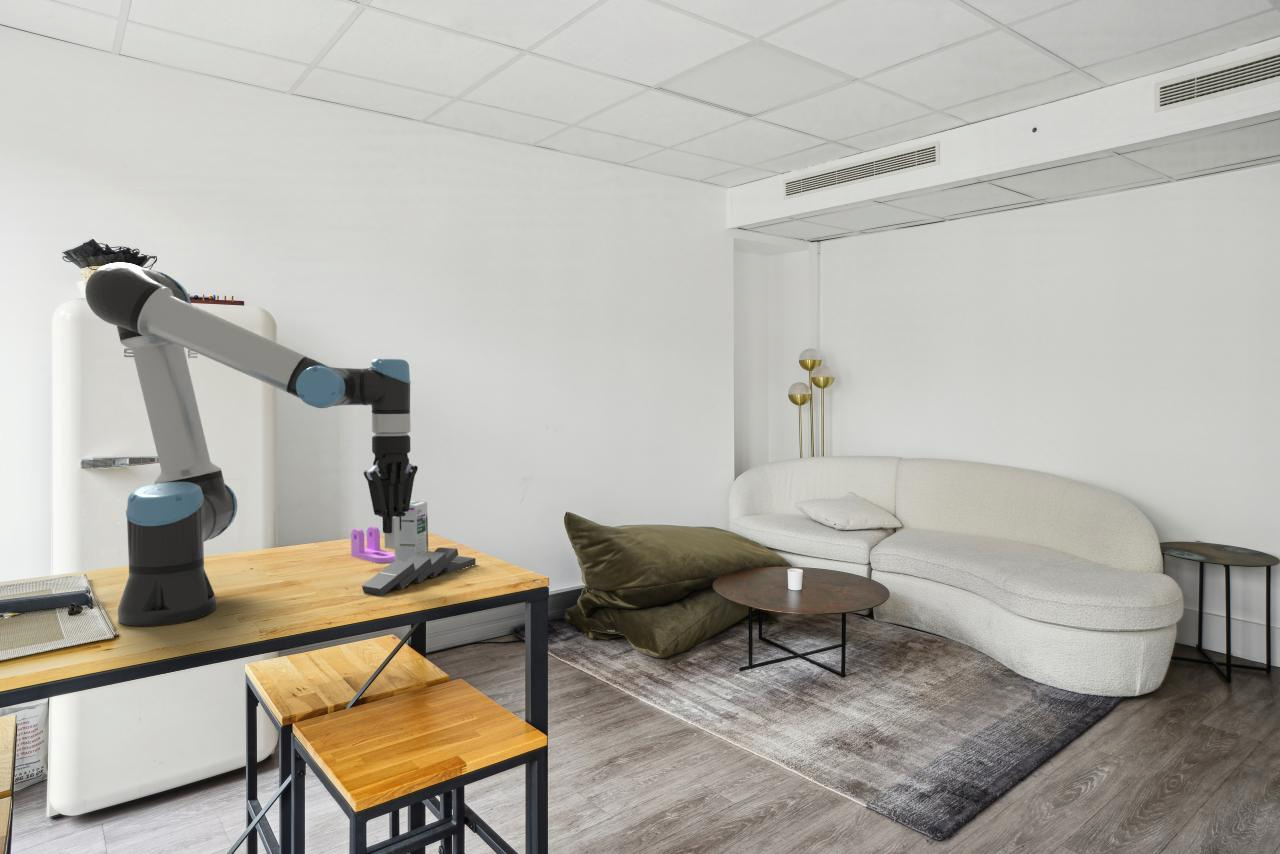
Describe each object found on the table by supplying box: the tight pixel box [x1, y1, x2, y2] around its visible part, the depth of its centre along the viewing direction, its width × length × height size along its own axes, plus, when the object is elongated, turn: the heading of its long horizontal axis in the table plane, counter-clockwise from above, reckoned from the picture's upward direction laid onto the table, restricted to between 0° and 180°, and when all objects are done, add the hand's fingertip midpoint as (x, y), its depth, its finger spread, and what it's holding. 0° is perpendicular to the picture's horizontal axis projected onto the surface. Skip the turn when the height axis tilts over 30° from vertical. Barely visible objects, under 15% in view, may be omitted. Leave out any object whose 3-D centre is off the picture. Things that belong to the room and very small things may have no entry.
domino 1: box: [361, 560, 415, 596], centre depth 158 cm, size 5×2×10 cm
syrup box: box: [394, 500, 429, 562], centre depth 179 cm, size 6×6×14 cm
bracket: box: [350, 525, 395, 564], centre depth 185 cm, size 13×6×7 cm, turn 50°
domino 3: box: [409, 550, 447, 584], centre depth 167 cm, size 5×2×10 cm
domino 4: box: [426, 547, 459, 578], centre depth 172 cm, size 5×2×10 cm
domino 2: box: [391, 556, 432, 591], centre depth 162 cm, size 5×2×10 cm
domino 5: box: [439, 555, 477, 575], centre depth 176 cm, size 5×2×10 cm
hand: (392, 547), depth 158 cm, fingers closed
